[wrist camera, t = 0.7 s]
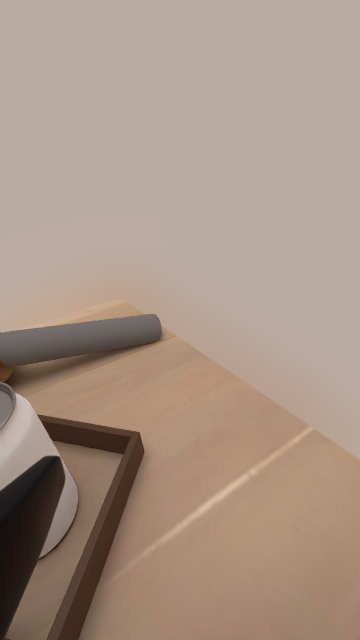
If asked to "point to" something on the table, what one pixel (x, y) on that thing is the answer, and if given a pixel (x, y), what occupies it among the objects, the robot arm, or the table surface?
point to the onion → (5, 372)
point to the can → (31, 457)
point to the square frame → (105, 527)
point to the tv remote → (77, 339)
